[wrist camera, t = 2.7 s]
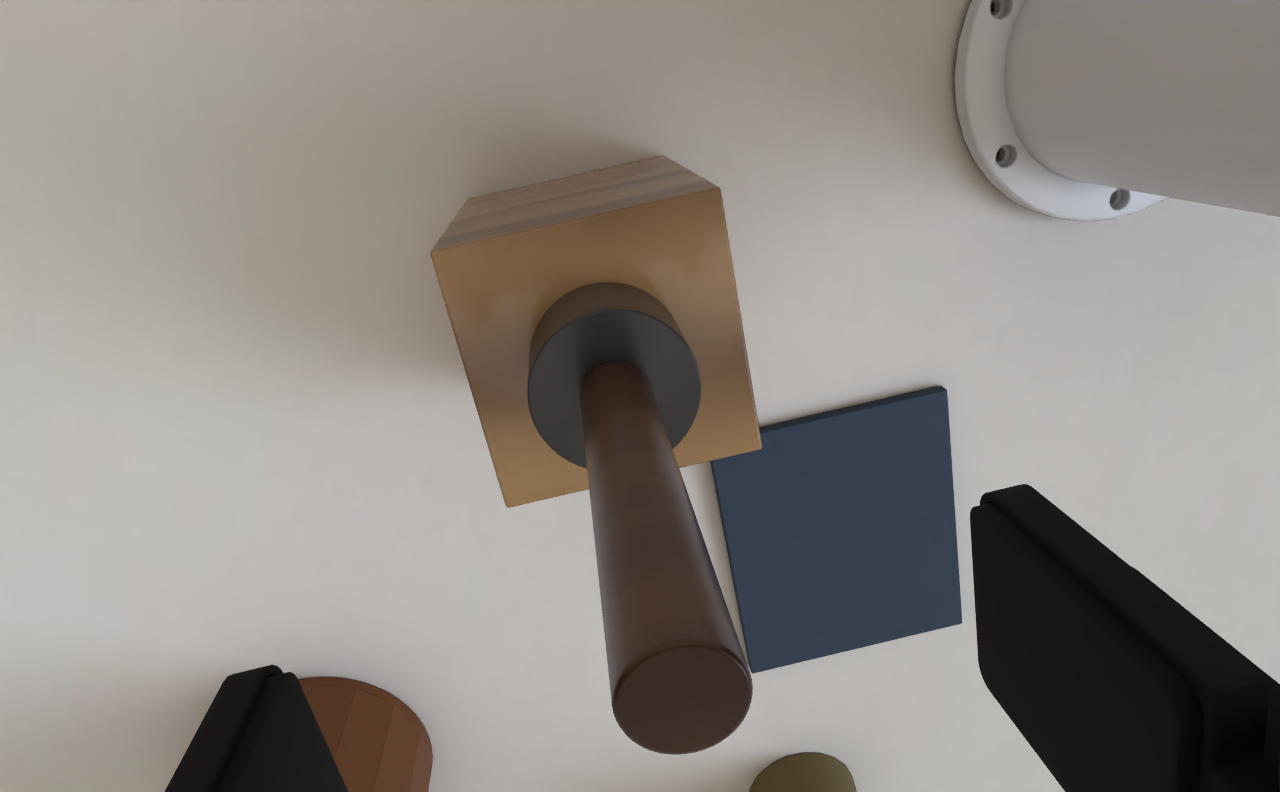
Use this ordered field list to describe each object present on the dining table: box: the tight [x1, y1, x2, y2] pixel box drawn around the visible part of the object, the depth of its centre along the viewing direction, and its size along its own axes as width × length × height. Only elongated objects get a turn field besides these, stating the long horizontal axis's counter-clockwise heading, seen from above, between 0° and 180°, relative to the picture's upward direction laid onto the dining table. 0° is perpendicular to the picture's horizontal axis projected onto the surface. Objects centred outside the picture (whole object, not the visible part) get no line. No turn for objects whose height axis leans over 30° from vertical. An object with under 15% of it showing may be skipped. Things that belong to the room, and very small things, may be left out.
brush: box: [527, 282, 753, 754], centre depth 17 cm, size 4×4×14 cm
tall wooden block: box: [430, 156, 762, 508], centre depth 28 cm, size 8×8×11 cm
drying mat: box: [711, 386, 962, 673], centre depth 39 cm, size 13×11×1 cm
